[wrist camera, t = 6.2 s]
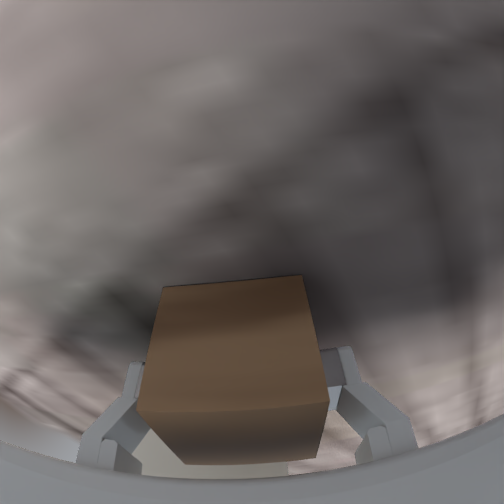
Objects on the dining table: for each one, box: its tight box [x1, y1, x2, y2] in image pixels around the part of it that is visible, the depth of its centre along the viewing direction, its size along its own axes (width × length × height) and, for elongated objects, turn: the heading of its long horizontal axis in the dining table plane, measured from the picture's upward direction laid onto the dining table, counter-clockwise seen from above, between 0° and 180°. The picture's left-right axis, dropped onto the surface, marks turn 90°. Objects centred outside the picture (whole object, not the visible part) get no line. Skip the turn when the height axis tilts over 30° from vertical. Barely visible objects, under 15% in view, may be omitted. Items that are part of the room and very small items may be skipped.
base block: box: [132, 429, 288, 479], centre depth 18 cm, size 11×11×5 cm
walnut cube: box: [136, 275, 330, 465], centre depth 11 cm, size 5×5×5 cm
